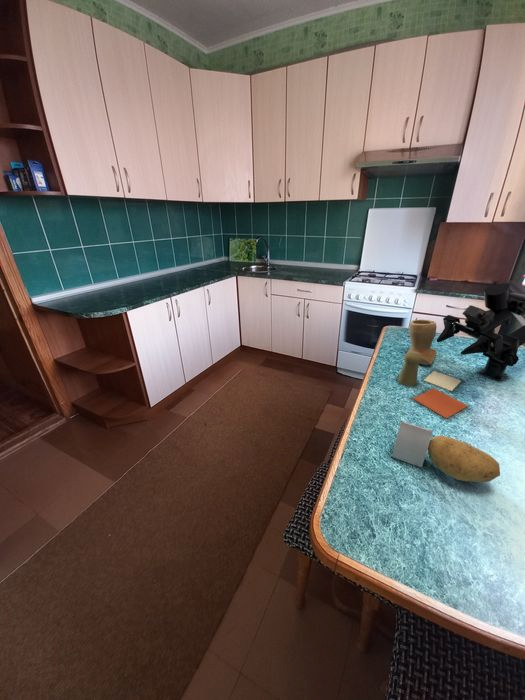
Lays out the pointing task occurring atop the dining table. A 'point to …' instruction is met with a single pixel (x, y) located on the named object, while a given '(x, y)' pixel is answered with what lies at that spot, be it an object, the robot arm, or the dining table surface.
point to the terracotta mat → (440, 403)
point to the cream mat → (442, 381)
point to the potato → (462, 460)
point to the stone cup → (423, 339)
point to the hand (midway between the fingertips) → (448, 347)
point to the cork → (410, 369)
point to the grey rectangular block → (412, 443)
